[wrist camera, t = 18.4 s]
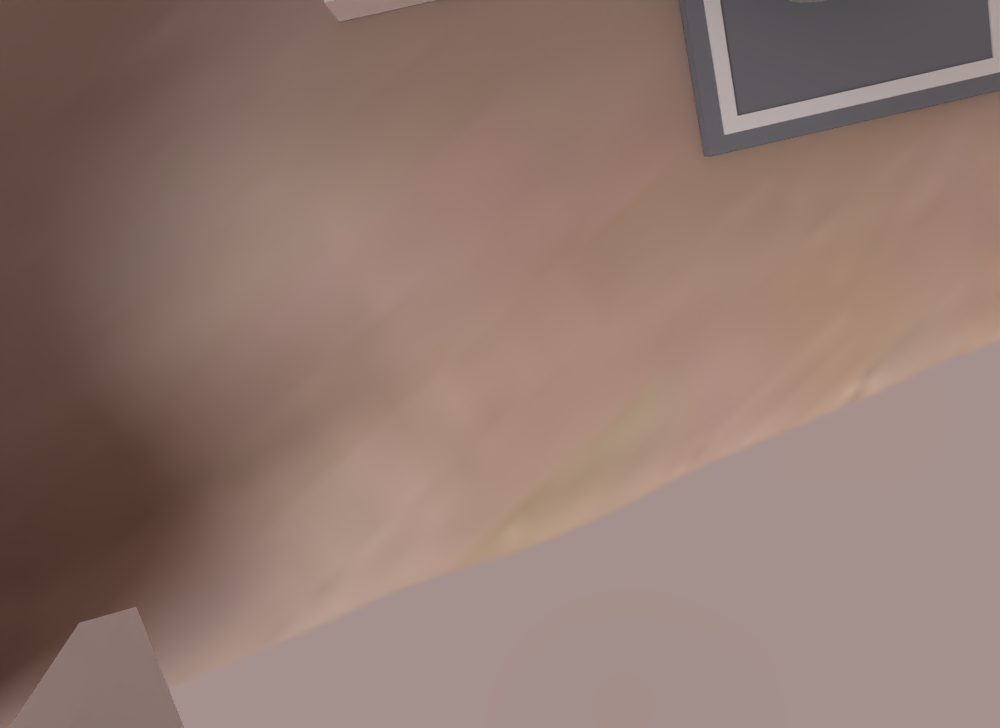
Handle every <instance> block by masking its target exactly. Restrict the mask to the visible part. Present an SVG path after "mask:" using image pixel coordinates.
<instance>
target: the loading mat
mask: <svg viewBox="0 0 1000 728" xmlns="http://www.w3.org/2000/svg"><path fill="white" fill-rule="evenodd" d="M679 4H680V10H681V16H682V22H683V29H684V35H685V41H686V47H687V53H688V59H689V66H690V72H691V78H692V84H693V90H694V96H695V103H696V109H697V115H698V121H699V127H700V134H701V140H702V146H703V152H704V156H708V157H710V156H715V155H719V154H723V153H728V152H732V151H737V150H741V149H745V148H750V147H754V146H758V145H763V144H767V143H772V142H776V141H780V140H785V139H789V138H793V137H798V136H802V135H807V134H811V133H815V132H820V131H824V130H828V129H833V128H837V127H842V126H846V125H850V124H855V123H859V122H863V121H868V120H872V119H877V118H881V117H885V116H890V115H894V114H898V113H903V112H907V111H912V110H916V109H920V108H925V107H929V106H934V105H938V104H942V103H947V102H951V101H955V100H960V99H964V98H969V97H973V96H977V95H982V94H986V93H990V92H995V91H999V90H1000V0H825V1H821V2H803V3H800V2H792V1H789V0H679Z"/></svg>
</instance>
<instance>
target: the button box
mask: <svg viewBox="0 0 1000 728" xmlns="http://www.w3.org/2000/svg"><path fill="white" fill-rule="evenodd" d="M323 1H324V3H325V5H326V6H327V7H328V8H329V10H330V11H331V12H332V14H333V15H334V16H335V17H336V19H337V20H338V21H339V22H341V21H346V20H350V19H355V18H359V17H364V16H368V15H372V14H377V13H381V12H386V11H390V10H395V9H399V8H404V7H408V6H413V5H417V4H421V3H426V2H430V1H435V0H323Z"/></svg>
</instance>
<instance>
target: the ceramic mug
mask: <svg viewBox="0 0 1000 728" xmlns="http://www.w3.org/2000/svg"><path fill="white" fill-rule="evenodd" d="M789 1H792V2H800V3H803V2H821V1H825V0H789Z"/></svg>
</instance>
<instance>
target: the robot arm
mask: <svg viewBox="0 0 1000 728" xmlns="http://www.w3.org/2000/svg"><path fill="white" fill-rule="evenodd" d="M9 728H184V727H183V724H182V721H181V719H180V716H179V714H178V711H177V709H176V706H175V704H174V701H173V699H172V696H171V694H170V691H169V688H168V686H167V683H166V681H165V678H164V676H163V673H162V671H161V668H160V666H159V663H158V660H157V658H156V655H155V653H154V650H153V648H152V645H151V643H150V640H149V638H148V635H147V633H146V630H145V627H144V625H143V622H142V620H141V617H140V615H139V612H138V610H137V607H133V608H129V609H126V610H122V611H119V612H115V613H112V614H108V615H105V616H101V617H98V618H94V619H91V620H87V621H83V622H80V623H79V624H78V625H77V627H76V628H75V630H74V631H73V633H72V634H71V636H70V637H69V639H68V640H67V642H66V643H65V645H64V646H63V648H62V649H61V651H60V652H59V654H58V655H57V657H56V658H55V660H54V661H53V663H52V664H51V666H50V667H49V669H48V670H47V672H46V673H45V675H44V676H43V677H42V679H41V680H40V682H39V683H38V685H37V686H36V688H35V689H34V691H33V692H32V694H31V695H30V697H29V698H28V700H27V701H26V703H25V704H24V706H23V707H22V709H21V710H20V712H19V713H18V715H17V716H16V718H15V719H14V721H13V722H12V724H11V725H10V727H9Z"/></svg>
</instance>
